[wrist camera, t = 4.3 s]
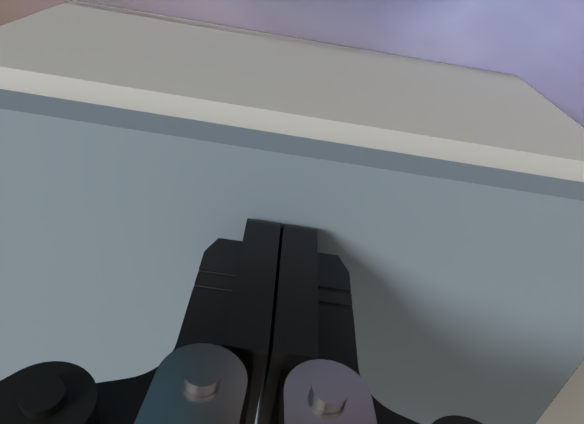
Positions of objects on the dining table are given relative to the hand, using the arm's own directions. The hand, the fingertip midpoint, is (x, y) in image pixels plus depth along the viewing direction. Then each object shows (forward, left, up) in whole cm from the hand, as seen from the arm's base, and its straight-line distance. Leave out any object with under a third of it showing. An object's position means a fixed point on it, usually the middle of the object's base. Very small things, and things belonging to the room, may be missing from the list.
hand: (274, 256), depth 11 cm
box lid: (+4, 0, -1) cm, 5 cm away
